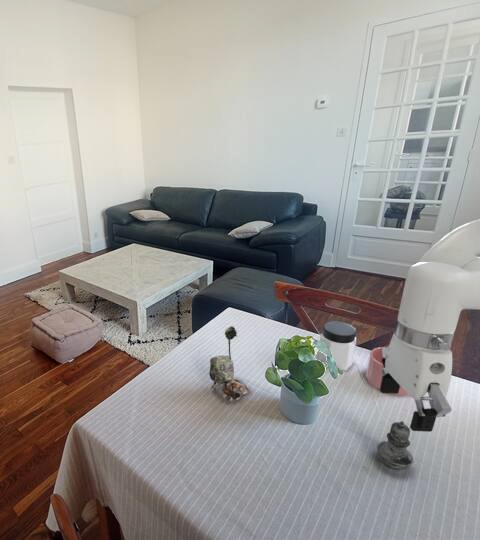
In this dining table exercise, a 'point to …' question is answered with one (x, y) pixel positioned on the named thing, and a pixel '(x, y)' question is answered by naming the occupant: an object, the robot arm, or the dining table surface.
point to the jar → (339, 343)
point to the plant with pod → (226, 372)
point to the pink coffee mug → (378, 370)
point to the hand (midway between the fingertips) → (403, 409)
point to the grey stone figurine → (396, 447)
